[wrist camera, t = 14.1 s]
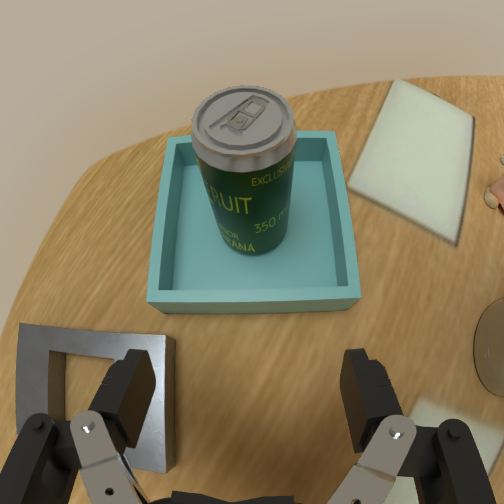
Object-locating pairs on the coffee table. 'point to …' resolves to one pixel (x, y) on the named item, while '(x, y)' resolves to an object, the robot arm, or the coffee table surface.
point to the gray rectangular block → (100, 346)
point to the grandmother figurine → (496, 191)
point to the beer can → (247, 164)
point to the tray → (262, 264)
